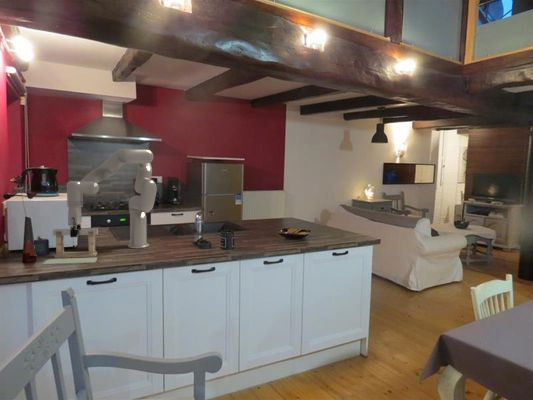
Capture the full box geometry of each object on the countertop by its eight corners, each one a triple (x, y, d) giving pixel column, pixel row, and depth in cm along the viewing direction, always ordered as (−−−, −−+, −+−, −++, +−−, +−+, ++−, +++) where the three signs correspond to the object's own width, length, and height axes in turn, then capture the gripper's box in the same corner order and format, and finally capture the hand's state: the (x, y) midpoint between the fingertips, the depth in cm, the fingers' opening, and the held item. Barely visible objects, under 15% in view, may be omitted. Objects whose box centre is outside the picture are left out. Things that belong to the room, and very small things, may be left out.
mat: (48, 260, 194) (48, 259, 194) (97, 258, 200) (97, 257, 200) (42, 265, 185) (42, 263, 185) (94, 263, 191) (94, 262, 191)
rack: (57, 255, 204) (57, 230, 202) (97, 253, 209) (96, 229, 207) (54, 258, 198) (53, 232, 196) (94, 256, 203) (94, 231, 202)
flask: (29, 257, 198) (28, 237, 197) (29, 255, 201) (29, 236, 200) (49, 255, 202) (48, 236, 201) (49, 254, 205) (49, 235, 204)
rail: (54, 234, 201) (54, 229, 200) (98, 233, 206) (98, 228, 206) (52, 235, 198) (52, 230, 198) (97, 234, 203) (96, 229, 203)
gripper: (71, 202, 208) (72, 232, 210) (63, 206, 191) (63, 238, 193) (86, 202, 210) (86, 232, 211) (78, 206, 193) (79, 238, 195)
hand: (75, 235), depth 202 cm, fingers open, 8 cm apart
